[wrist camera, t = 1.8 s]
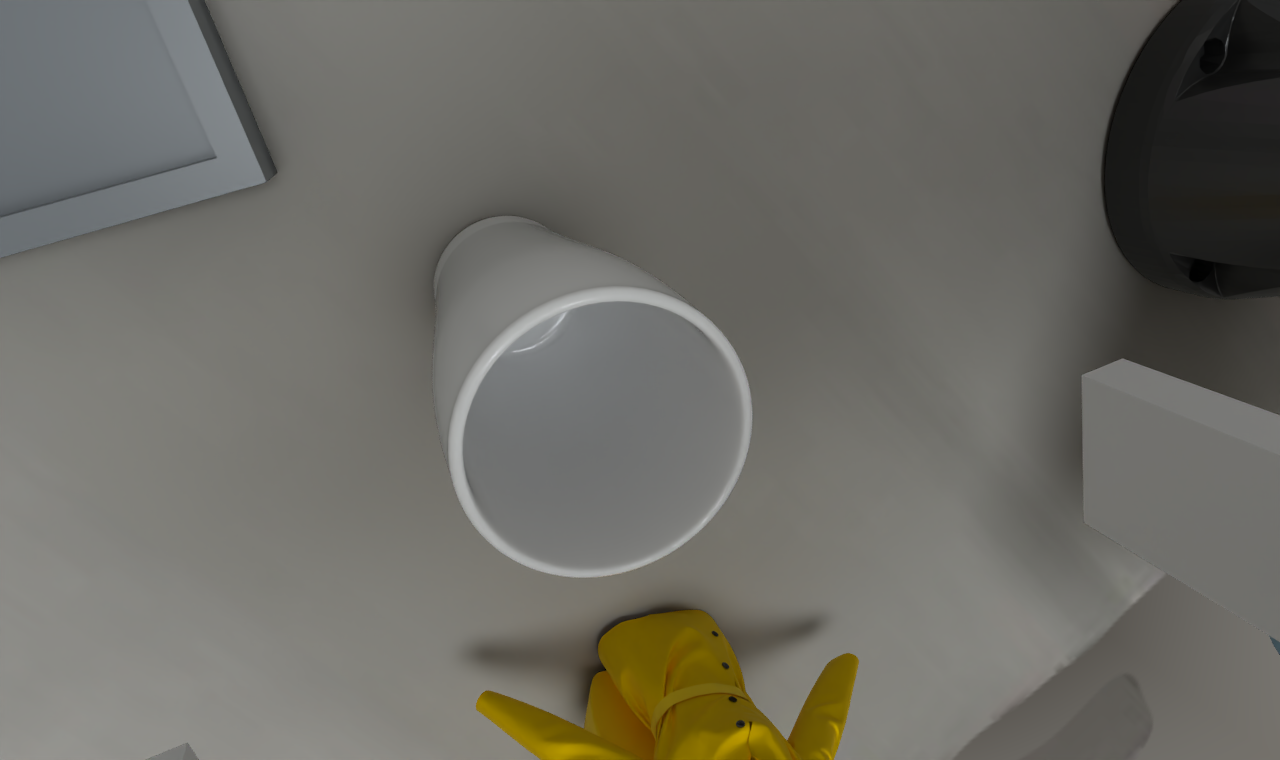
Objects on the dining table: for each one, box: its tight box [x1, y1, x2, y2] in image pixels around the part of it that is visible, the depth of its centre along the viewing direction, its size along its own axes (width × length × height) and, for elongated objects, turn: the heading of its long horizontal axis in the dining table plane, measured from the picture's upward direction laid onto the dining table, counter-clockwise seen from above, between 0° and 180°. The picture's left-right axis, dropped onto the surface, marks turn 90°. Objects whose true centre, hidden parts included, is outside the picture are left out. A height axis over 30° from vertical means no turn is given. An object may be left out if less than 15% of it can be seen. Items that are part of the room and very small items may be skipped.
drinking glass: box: [432, 216, 753, 578], centre depth 23 cm, size 7×7×15 cm
